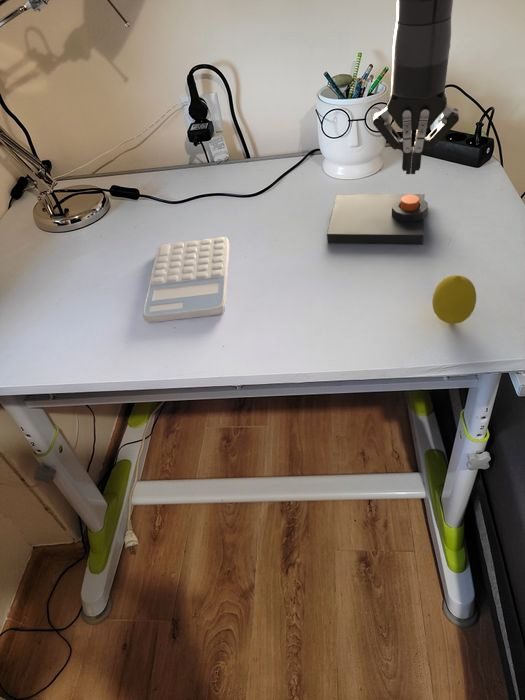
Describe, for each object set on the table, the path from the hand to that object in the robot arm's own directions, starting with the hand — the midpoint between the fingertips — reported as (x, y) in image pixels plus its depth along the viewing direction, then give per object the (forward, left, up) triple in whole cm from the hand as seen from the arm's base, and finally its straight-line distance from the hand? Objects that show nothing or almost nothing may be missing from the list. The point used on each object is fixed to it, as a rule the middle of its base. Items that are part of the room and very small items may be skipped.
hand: (410, 171), depth 83 cm
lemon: (-7, +25, -10) cm, 28 cm away
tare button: (0, 0, -7) cm, 7 cm away
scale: (+5, 0, -10) cm, 11 cm away
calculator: (+35, +18, -10) cm, 41 cm away
